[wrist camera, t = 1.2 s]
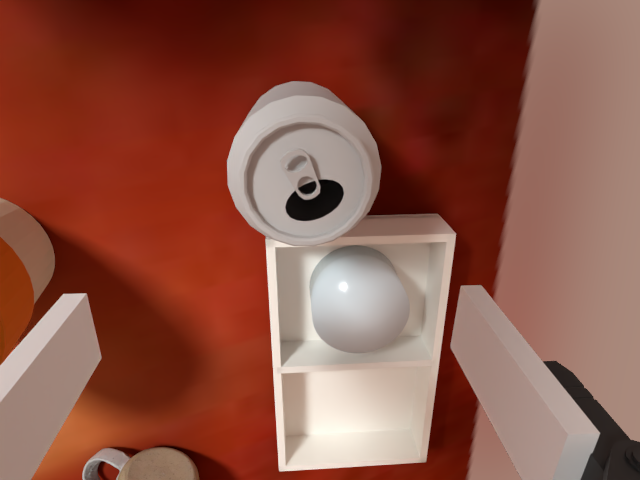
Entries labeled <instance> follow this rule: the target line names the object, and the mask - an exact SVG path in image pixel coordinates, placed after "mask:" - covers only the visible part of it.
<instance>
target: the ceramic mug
mask: <svg viewBox="0 0 640 480" xmlns="http://www.w3.org/2000/svg"><path fill="white" fill-rule="evenodd" d="M101 461H104V462H107V463H109V464H111V465H113V466H114V467H115V468H117V469H119V470H120V473H119V475H118V477H117V478H116V480H199V473H198V470H197V467H196V466H195V464H194V462H193V461H192V460H191V459H190V457H188V456H187V455H186V454H184V453H183V452H181V451H179V450H176V449H173V448H168V447H155V448H149V449H146V450H143V451H141V452H139V453H137V454H136V455H134V456H133V457H132V458H131V457H129V456H128V455H127V454H126V453H124V452H122V451H119V450H117V449H114V448H105V449H102V450H100V451H99V452H98V453H96V454H95V455H94V456H93V457H92V458H91V459H89V461H88V462H87V463H86V465H85V467H84V470H83V475H82V476H83V480H100V477H99V476H98V471H97V469H98V466H99V463H100V462H101Z"/></svg>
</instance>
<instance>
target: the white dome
mask: <svg viewBox="0 0 640 480" xmlns="http://www.w3.org/2000/svg"><path fill="white" fill-rule="evenodd" d="M309 289H310V299H311V310H312V321H313V325H314V328H315V330H316V332H317V334H318V335H319V337H320V338H321V339H322V340H323V341H324V342H325V343H326V344H328V345H329V346H331V347H333V348H335V349H337V350H340V351H343V352H347V353H366V352H371V351H374V350H378V349H380V348H382V347H384V346H386V345H388V344H389V343H390V342H392V341H393V340H394V339H395V338H396V337H398V335H399V334H400V333H401V332H402V330H403V329H404V327H405V325H406V323H407V321H408V317H409V312H410V304H409V299H408V296H407V293H406V291H405V289H404V287H403V285H402V283H401V281H400V279H399V277H398V275H397V273H396V271H395V269H394V267H393V265H392V263H391V262H390V260H389V259H388V258H387V257H386V256H385V255H384V254H382V253H381V252H379V251H378V250H375V249H373V248H370V247H367V246H359V245H353V246H346V247H342V248H339V249H336V250H334V251H332V252H330V253H329V254H327V255H326V256H325V257H324V258H322V259H321V260H320V261H319V263H318V264H317V265H316V267H315V268H314V270H313V272H312V275H311V278H310V285H309Z"/></svg>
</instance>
